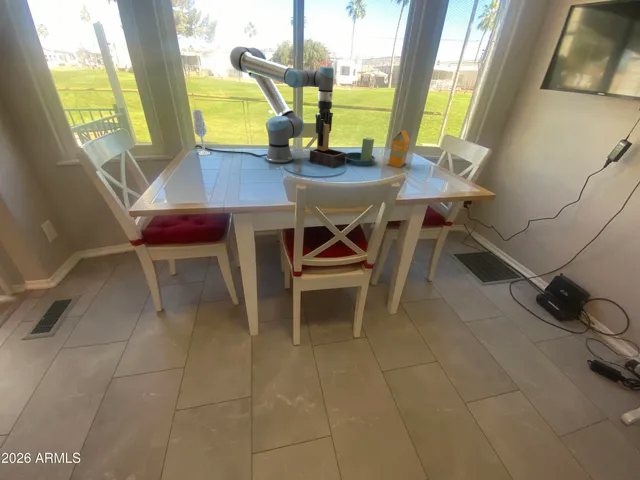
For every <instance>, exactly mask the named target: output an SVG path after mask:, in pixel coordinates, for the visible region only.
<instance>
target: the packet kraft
mask: <svg viewBox="0 0 640 480" xmlns="http://www.w3.org/2000/svg"><path fill="white" fill-rule="evenodd" d="M329 129H330V124H324V125H323V132H322V134H323V146H318V144H317V145H316V148H317V149H318V150H322V151H326V150H328V148H329V144H330V133H329Z"/></svg>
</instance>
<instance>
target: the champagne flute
mask: <svg viewBox="0 0 640 480" xmlns="http://www.w3.org/2000/svg"><path fill="white" fill-rule="evenodd" d="M191 113H192V121H193V132H194V133H195V134H196V135H197V136H198V137H200V141H201V146H202V148H201V149H202V150H201V151H200V152H199V153H198V155H200V156H208V155H210V154H211V152H209V151H208V150H206V149H205V148H206V147H205V142H204V137H205V135H206V134H207V132H208V131H207V126H206V123H205V118H204V115H203V111H202V109H192V112H191Z"/></svg>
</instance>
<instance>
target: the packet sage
mask: <svg viewBox="0 0 640 480" xmlns="http://www.w3.org/2000/svg"><path fill="white" fill-rule="evenodd" d="M374 141H375V139H374V138H370V137H365V138H364V137H363V138H362V144H361V152H360V153H361V159H360V161H370V160H371V157H372V155H373V150H374V145H375V144H374V143H375V142H374Z"/></svg>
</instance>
